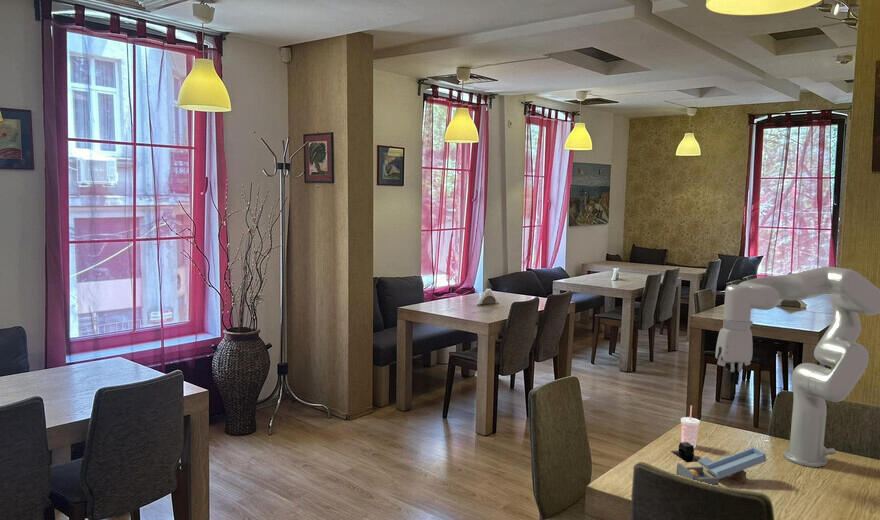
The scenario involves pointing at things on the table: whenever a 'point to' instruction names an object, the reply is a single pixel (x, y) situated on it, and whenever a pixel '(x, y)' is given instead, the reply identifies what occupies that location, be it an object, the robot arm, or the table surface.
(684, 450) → the black boxy piece
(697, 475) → the ball
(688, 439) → the beverage cup
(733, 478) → the fulcrum
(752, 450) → the lever
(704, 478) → the tray
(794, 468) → the table surface
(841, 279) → the robot arm
